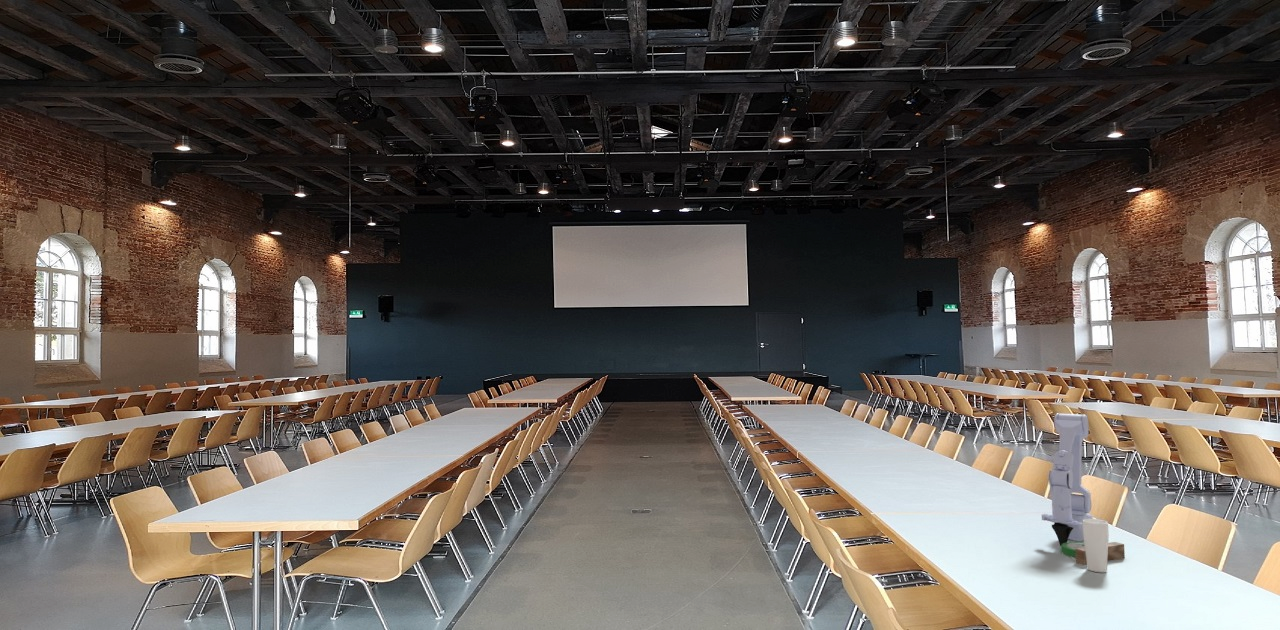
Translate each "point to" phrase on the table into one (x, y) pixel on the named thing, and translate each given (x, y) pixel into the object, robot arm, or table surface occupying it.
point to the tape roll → (1070, 548)
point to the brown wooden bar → (1113, 553)
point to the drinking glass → (1096, 544)
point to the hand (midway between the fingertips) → (1063, 546)
